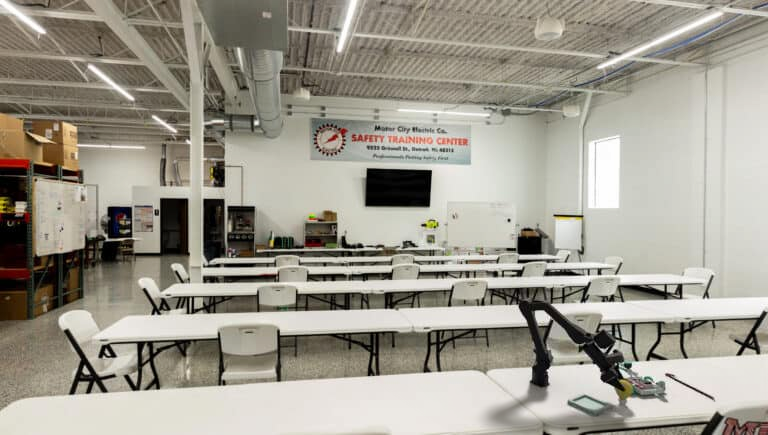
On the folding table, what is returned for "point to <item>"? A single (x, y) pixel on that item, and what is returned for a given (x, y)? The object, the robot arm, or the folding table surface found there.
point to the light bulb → (626, 394)
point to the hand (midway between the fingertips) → (625, 387)
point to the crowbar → (688, 385)
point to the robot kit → (641, 381)
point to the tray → (590, 404)
